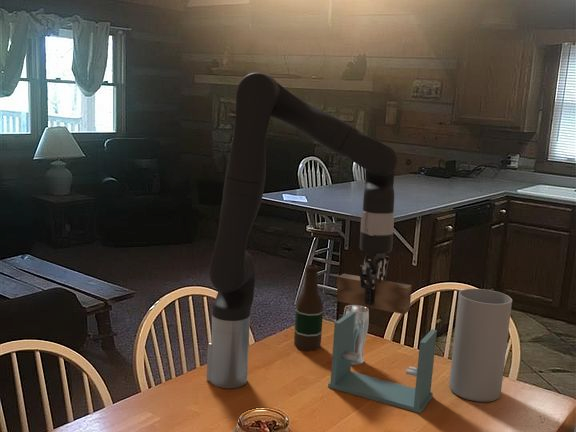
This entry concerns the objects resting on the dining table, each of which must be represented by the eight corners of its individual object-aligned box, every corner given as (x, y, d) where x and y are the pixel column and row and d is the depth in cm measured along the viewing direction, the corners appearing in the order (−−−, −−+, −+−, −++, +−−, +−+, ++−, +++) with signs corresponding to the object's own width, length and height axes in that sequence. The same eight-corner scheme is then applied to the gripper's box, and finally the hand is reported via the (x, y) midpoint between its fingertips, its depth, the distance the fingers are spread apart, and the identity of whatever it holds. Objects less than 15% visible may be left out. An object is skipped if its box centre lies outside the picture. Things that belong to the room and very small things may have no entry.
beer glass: (338, 363, 170) (342, 310, 167) (342, 354, 176) (345, 303, 174) (363, 367, 168) (368, 314, 165) (366, 357, 175) (370, 306, 172)
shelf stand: (327, 387, 155) (332, 321, 152) (343, 373, 164) (348, 311, 161) (420, 413, 144) (427, 343, 141) (432, 396, 153) (439, 330, 150)
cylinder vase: (485, 408, 148) (497, 307, 144) (439, 390, 157) (449, 294, 152) (509, 393, 157) (520, 297, 153) (463, 376, 166) (473, 285, 161)
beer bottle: (308, 339, 186) (313, 261, 182) (326, 347, 180) (331, 267, 176) (288, 344, 181) (292, 264, 177) (305, 353, 175) (311, 270, 171)
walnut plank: (336, 300, 150) (337, 276, 149) (342, 297, 153) (343, 273, 152) (404, 314, 142) (406, 288, 141) (409, 310, 145) (411, 285, 144)
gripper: (372, 224, 152) (368, 292, 155) (349, 233, 140) (345, 307, 143) (402, 227, 149) (397, 297, 152) (381, 237, 136) (376, 313, 139)
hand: (372, 301), depth 147 cm, fingers closed on walnut plank, 3 cm apart
